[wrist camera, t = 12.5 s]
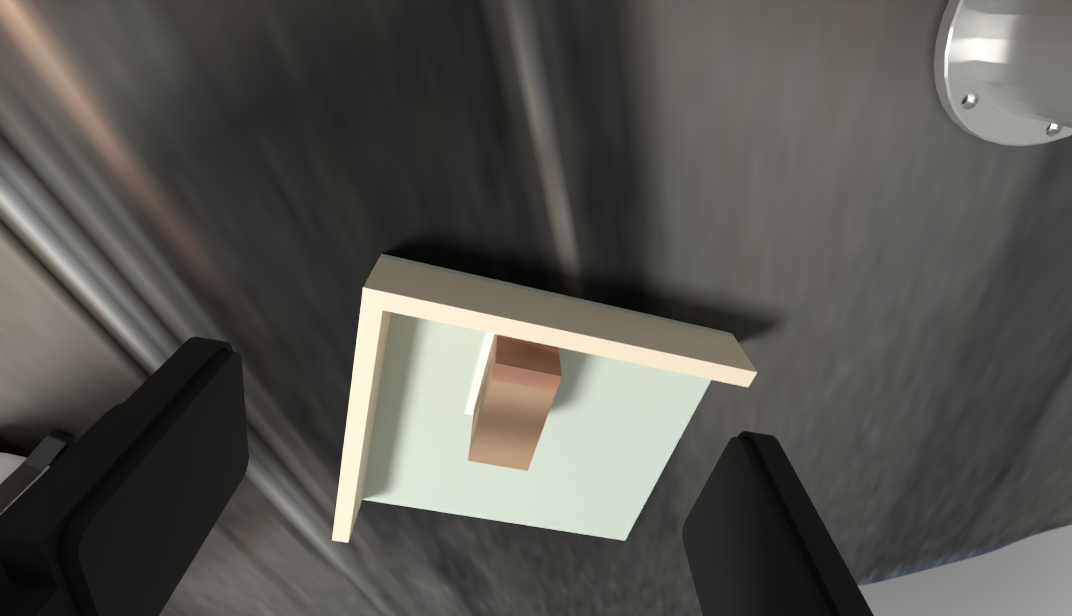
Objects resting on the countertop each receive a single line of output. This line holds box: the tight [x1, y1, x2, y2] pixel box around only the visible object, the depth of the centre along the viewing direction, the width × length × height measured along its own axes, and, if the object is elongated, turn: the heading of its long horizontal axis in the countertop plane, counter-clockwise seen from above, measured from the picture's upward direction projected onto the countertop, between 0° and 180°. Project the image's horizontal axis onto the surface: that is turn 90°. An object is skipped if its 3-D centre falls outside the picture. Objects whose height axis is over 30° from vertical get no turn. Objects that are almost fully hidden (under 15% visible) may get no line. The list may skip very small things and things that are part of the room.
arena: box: [332, 254, 757, 543], centre depth 38 cm, size 24×22×4 cm
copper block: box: [468, 334, 562, 471], centre depth 35 cm, size 8×4×5 cm, turn 165°
